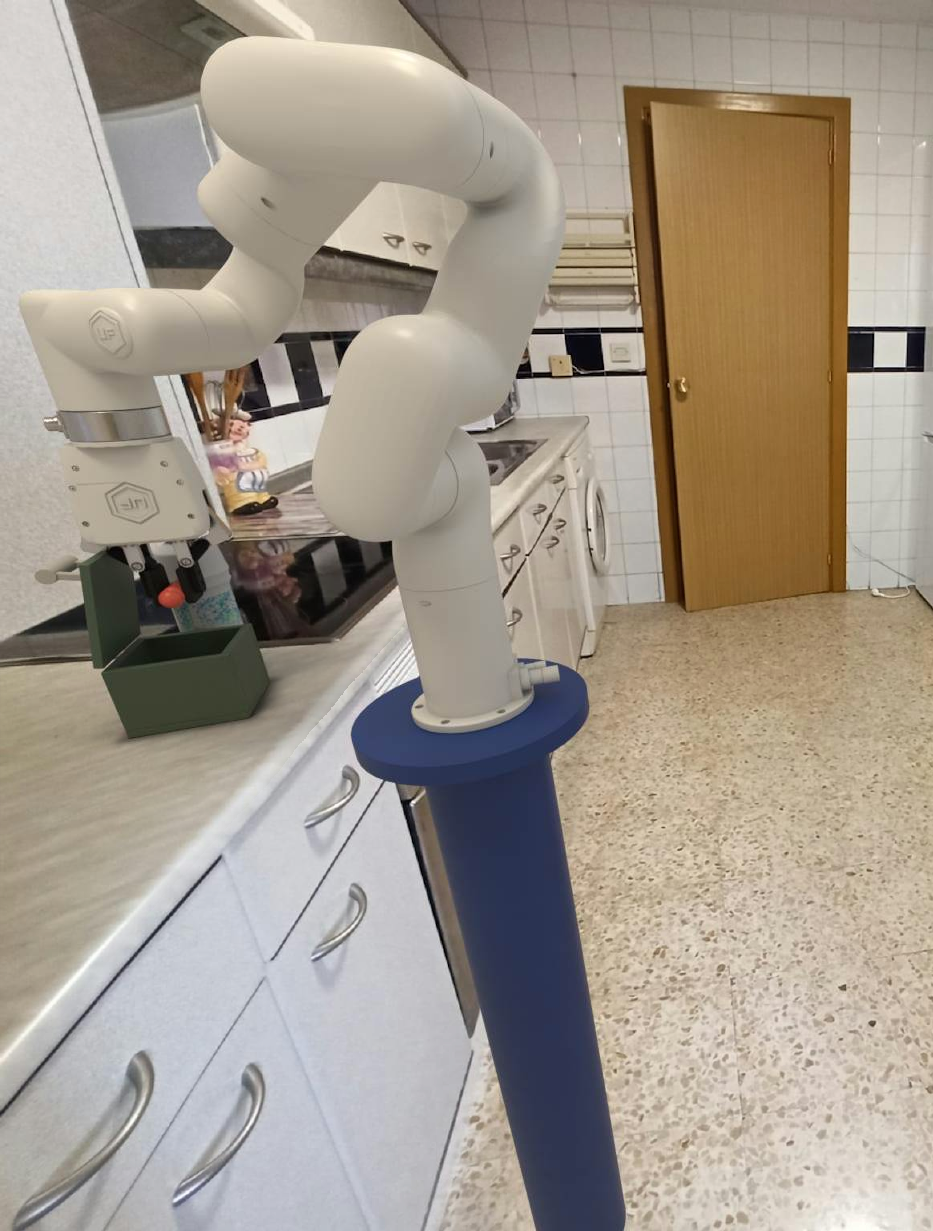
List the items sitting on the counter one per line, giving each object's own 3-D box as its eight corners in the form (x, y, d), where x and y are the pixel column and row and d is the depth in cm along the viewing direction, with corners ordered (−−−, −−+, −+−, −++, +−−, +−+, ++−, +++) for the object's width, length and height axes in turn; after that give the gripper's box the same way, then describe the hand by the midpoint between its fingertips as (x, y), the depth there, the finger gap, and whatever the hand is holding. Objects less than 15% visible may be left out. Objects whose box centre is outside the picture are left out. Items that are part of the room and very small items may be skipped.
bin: (270, 681, 88) (251, 622, 85) (249, 718, 80) (227, 655, 77) (162, 698, 84) (138, 637, 81) (128, 738, 76) (100, 673, 73)
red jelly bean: (179, 593, 79) (172, 576, 79) (201, 590, 80) (195, 573, 79) (158, 612, 74) (152, 594, 74) (182, 609, 75) (176, 591, 74)
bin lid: (130, 539, 77) (67, 535, 75) (89, 564, 69) (17, 561, 67) (141, 634, 81) (81, 633, 79) (103, 669, 73) (35, 669, 70)
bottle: (212, 666, 91) (157, 513, 84) (271, 660, 93) (223, 510, 85) (182, 690, 85) (120, 528, 78) (246, 684, 87) (192, 525, 79)
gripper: (-13, 436, 64) (68, 624, 71) (206, 428, 70) (260, 602, 77) (31, 425, 70) (101, 599, 77) (229, 419, 76) (277, 580, 84)
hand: (180, 599), depth 77 cm, fingers closed on red jelly bean, 2 cm apart
